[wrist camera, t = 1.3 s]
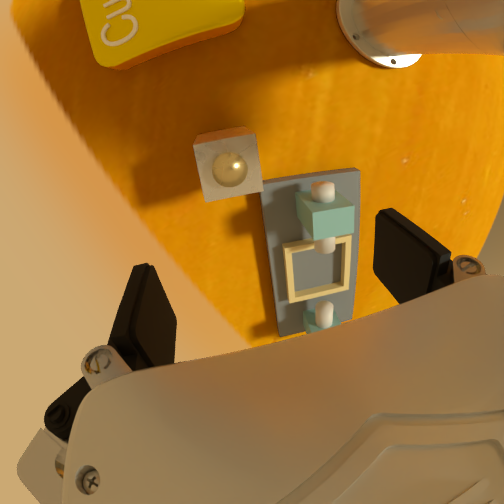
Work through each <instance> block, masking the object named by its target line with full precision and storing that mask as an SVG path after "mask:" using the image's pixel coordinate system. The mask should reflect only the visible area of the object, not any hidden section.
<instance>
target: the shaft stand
mask: <svg viewBox="0 0 504 504" xmlns="http://www.w3.org/2000/svg"><path fill="white" fill-rule="evenodd" d="M262 182H263V189H264V191H262V192H259V194H260V201H261V208H262V215H263V222H264V229H265V236H266V243H267V251H268V258H269V265H270V273H271V280H272V288H273V295H274V303H275V311H276V319H277V326H278V332H279V336H280V337H282V336H287V335H291V334H296V333H300V332H304V331H306V333H307V334H310V333H313V332H317V331H320V330H324V329H327V328H330V327H334V326H337V325H340V324H341V322H343V321H347V320H350V319H352V314H353V305H354V296H355V286H356V275H357V262H358V246H359V225H360V170H358V169H356V168H346V169H338V170H330V171H322V172H314V173H307V174H300V175H294V176H287V177H281V178H274V179H268V180H262Z"/></svg>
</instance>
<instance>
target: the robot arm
mask: <svg viewBox="0 0 504 504" xmlns="http://www.w3.org/2000/svg"><path fill="white" fill-rule="evenodd" d="M336 14H337V19H338V22H339V25H340V27H341V30H342V32H343V33H344V35H345V37H346V39H347V40H348V41H349V42H350V44H351V45H352V46H353V47H354V48H355V49H356V50H357V51H358V52H359V53H360V54H361V55H362V56H364V57H365V58H366V59H368V60H369V61H371V62H373V63H375V64H377V65H380V66H383V67H387V68H403V67H408V66H410V65H412V64H414V63H415V62H416V61H417V60H418V59H419V58H420V56H421V55H422V54H441V53H468V54H488V55H504V0H337V3H336ZM353 37H354V38H353ZM450 256H451V251H449V250H448V249H447V248H446V247H444V246H443V245H442V244H441V243H439V242H438V241H437V240H436V239H434V238H433V237H432V236H430V235H429V234H428V233H426V232H425V231H424V230H422V229H421V228H420V227H418V226H417V225H416V224H414V223H413V222H412V221H410V220H409V219H407V218H406V217H405V216H403V215H402V214H400V213H399V212H397V211H396V210H395V209H393V208H388V209H383V210H380V211H379V213H378V214H377V215H376V218H375V243H374V259H373V270H374V273H375V275H376V276H377V277H378V278H379V280H380V281H381V282H382V283H383V284H384V286H385V287H386V288H387V289H388V290H389V292H390V293H391V294H392V295H393V297H394V298H395V299H396V300H397V301H398V303H399V305H397V306H394V307H391V308H388V309H386V310H383V311H380V312H377V313H374V314H371V315H368V316H365V317H362V318H359V319H356V320H353V321H350V322H347V323H344V324H340V325H337V326H334V327H330V328H327V329H324V330H320V331H317V332H313V333H310V334H306V335H302V336H299V337H295V338H291V339H287V340H283V341H279V342H275V343H271V344H267V345H263V346H258V347H254V348H250V349H245V350H241V351H237V352H231V353H227V354H222V355H217V356H212V357H206V358H201V359H195V360H190V361H184V362H178V363H174V358H175V357H174V356H175V341H176V326H177V320H176V316H175V314H174V311H173V309H172V307H171V305H170V303H169V300H168V298H167V296H166V293H165V291H164V289H163V287H162V284H161V282H160V280H159V277H158V275H157V272H156V270H155V268H154V266H153V265H151V266H150V265H149V264H148V263H144V264H140V265H136V266H134V267H133V269H132V272H131V275H130V278H129V280H128V283H127V286H126V289H125V292H124V295H123V298H122V300H121V303H120V305H119V309H118V312H117V314H116V318H115V321H114V324H113V328H112V331H111V334H110V337H109V341H108V344H107V345H101V346H98V347H95V348H94V349H92V350H91V351H89V352H88V353H87V354H86V356H85V357H84V358H83V361H82V363H81V370H82V373H83V375H84V376H83V377H82V378H81V379H80V380H79V381H78V382H76V383H75V384H74V385H73V386H71V387H70V388H69V389H68V390H67V391H66V392H64V393H63V394H62V395H61V396H60V397H59V398H57V399H56V400H55V401H54V402H53V403H52V404H51V405H50V406H49V407H48V409H47V410H46V412H45V416H44V422H45V426H46V428H45V429H44V430H43V429H41V428H40V430H39V431H38V432H37V434H36V436H35V437H34V438H33V440H32V441H31V443H30V444H29V446H28V447H27V449H26V450H25V452H24V453H23V455H22V457H21V458H20V460H19V462H18V464H17V473H18V476H19V478H20V480H21V481H22V483H23V484H24V485H25V486H26V487H27V489H28V490H29V491H30V492H31V493H32V495H33V496H34V497H35V498H36V499H37V500H38V501H39V502H40V504H504V276H502V275H487V274H486V273H485V268H484V265H483V264H482V263H481V262H480V261H479V260H478V259H476V258H474V257H472V256H468V255H460V256H457V257H455V258H454V259H453V261H452V260H451V259H450Z"/></svg>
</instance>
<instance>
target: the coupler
mask: <svg viewBox="0 0 504 504" xmlns="http://www.w3.org/2000/svg"><path fill="white" fill-rule="evenodd" d="M193 148H194V153H195V158H196V163H197V167H198V172H199V176H200V181H201V186H202V190H203V194H204V199H205V202H210V201H215V200H220V199H225V198H230V197H235V196H240V195H245V194H251V193H256V192H262V191H264V189H263V182H262V175H261V168H260V161H259V155H258V148H257V141H256V135H255V133H254V132H253V131H251V130H250V129H248V128H247V127H245V126H240V127H234V128H228V129H223V130H218V131H212V132H207V133H203V134H198V135H197V137H196V139H195V142H194V144H193Z"/></svg>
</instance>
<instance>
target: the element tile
mask: <svg viewBox="0 0 504 504" xmlns="http://www.w3.org/2000/svg"><path fill="white" fill-rule="evenodd" d="M80 5H81V9H82V13H83V17H84V21H85V25H86V29H87V33H88V37H89V40H90V44H91V47H92V51H93V54H94V57H95V59H96V61H97V62H98V63H99V64H100V65H101V66H103V67H107V68H110V69H114V70H118V71H119V70H127V69H130V68H132V67H134V66H136V65H138V64H141V63H143V62H145V61H148V60H150V59H152V58H155V57H157V56H160V55H162V54H165V53H168V52H170V51H173V50H176V49H179V48H182V47H184V46H187V45H190V44H194V43H197V42H200V41H203V40H207V39H210V38H214V37H217V36H221V35H225V34H228V33H230V32H232V31H234V30H235V29H237V28H238V27H239V25H240V24H241V22H242V19H243V17H244V14H245V8H246V7H245V2H244V0H80Z"/></svg>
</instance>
